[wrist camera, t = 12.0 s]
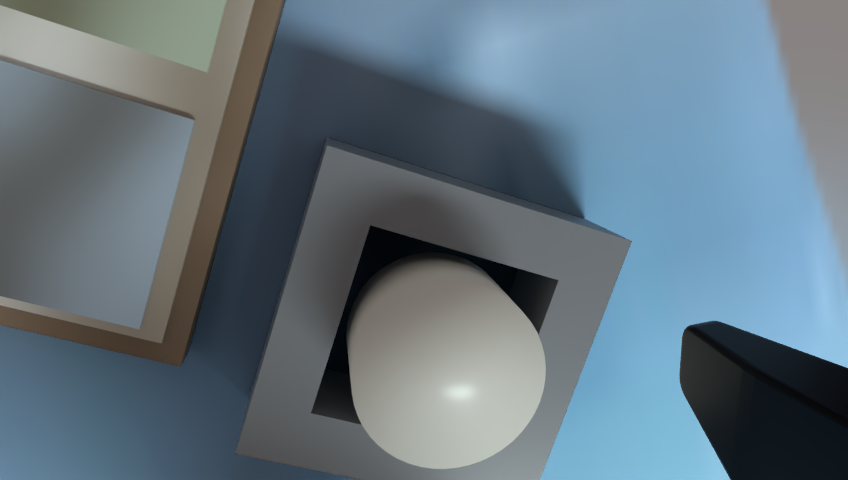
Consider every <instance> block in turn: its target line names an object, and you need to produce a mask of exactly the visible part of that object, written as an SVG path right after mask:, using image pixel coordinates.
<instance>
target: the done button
mask: <svg viewBox="0 0 848 480" xmlns="http://www.w3.org/2000/svg"><path fill="white" fill-rule="evenodd" d="M346 333H347V349H348V360H349V370H350V380H351V390H352V397H353V403H354V407H355V410H356V413H357V416H358V418H359V420H360V422H361V424H362V426H363V427H364V429H365V430H366V432H367V433H368V435H369V436H370V437H371V438H372V439H373V440H374V441H375V443H376V444H377V445H378V446H380V447H381V448H382V449H383V450H385V451H386V452H387V453H389V454H390V455H392V456H394V457H395V458H397V459H399V460H401V461H404V462H406V463H408V464H412V465H415V466H419V467H425V468H431V469H450V468H459V467H463V466H468V465H471V464H474V463H477V462H480V461H482V460H485V459H487V458H489V457H491V456H493V455H494V454H496V453H498V452H499V451H501V450H502V449H504V448H505V447H506V446H508V445H509V444H510V443H511V442H513V441H514V440H515V438H516V437H517V436H518V435H519V434H520V433H521V432H522V431H523V430H524V429H525V427H526V426H527V425H528V423H529V422H530V420H531V419H532V417H533V415H534V414H535V412H536V409H537V407H538V405H539V403H540V400H541V397H542V393H543V390H544V384H545V376H546V364H545V355H544V351H543V347H542V343H541V340H540V338H539V335H538V333H537V331H536V330H535V328H534V326H533V324H532V323H531V321H530V320H529V319H528V318H527V316H526V315H525V314H524V313H523V312H522V310H521V309H520V308H519V307H518V306H517V305H516V304H515V303H514V302H513V301H512V300H511V299H510V297H509V296H508V295H507V294H506V293H505V292H504V291H503V290H502V289H501V288H500V287H499V285H498V284H497V283H496V282H495V281H494V280H493V279H492V278H491V277H490V276H489V275H488V274H487V273H486V272H485V271H484V270H483V269H481V268H480V267H478V266H477V265H476V264H474V263H472V262H470V261H468V260H467V259H464V258H461V257H459V256H456V255H452V254H447V253H438V252H427V253H418V254H413V255H409V256H406V257H403V258H400V259H398V260H396V261H394V262H392V263H390V264H388V265H387V266H385V267H383V268H382V269H381V270H379V271H378V272H377V273H376V274H374V275H373V276H372V277H371V278H370V279H369V280H368V281H367V283H366V284H365V285H364V286H363V288H362V289H361V290H360V292H359V293H358V295H357V297H356V299H355V301H354V303H353V305H352V308H351V310H350V314H349V318H348V322H347V332H346Z"/></svg>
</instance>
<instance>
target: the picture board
mask: <svg viewBox="0 0 848 480" xmlns="http://www.w3.org/2000/svg"><path fill="white" fill-rule="evenodd" d="M284 4H285V0H0V325H4V326H8V327H12V328H17V329H21V330H25V331H30V332H34V333H38V334H43V335H47V336H51V337H55V338H60V339H64V340H68V341H73V342H77V343H81V344H86V345H90V346H94V347H99V348H103V349H107V350H112V351H116V352H120V353H125V354H129V355H133V356H138V357H142V358H146V359H150V360H155V361H159V362H163V363H168V364H172V365H176V366H181V365H182V363H183V361H184V359H185V357H186V355H187V353H188V351H189V347H190V343H191V340H192V336H193V332H194V329H195V325H196V322H197V318H198V314H199V311H200V307H201V304H202V300H203V296H204V293H205V289H206V285H207V282H208V278H209V275H210V271H211V267H212V264H213V260H214V257H215V253H216V249H217V246H218V242H219V239H220V235H221V231H222V228H223V224H224V220H225V217H226V213H227V210H228V206H229V202H230V199H231V195H232V192H233V188H234V184H235V181H236V177H237V174H238V170H239V166H240V163H241V159H242V155H243V152H244V148H245V145H246V141H247V137H248V134H249V130H250V127H251V123H252V119H253V116H254V112H255V109H256V105H257V101H258V98H259V94H260V90H261V87H262V83H263V80H264V76H265V72H266V69H267V65H268V62H269V58H270V54H271V51H272V47H273V43H274V40H275V36H276V33H277V29H278V25H279V22H280V18H281V15H282V11H283V7H284Z"/></svg>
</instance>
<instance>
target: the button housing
mask: <svg viewBox="0 0 848 480" xmlns="http://www.w3.org/2000/svg"><path fill="white" fill-rule="evenodd" d="M370 225H371V226H375V227H378V228H382V229H385V230H388V231H392V232H395V233H399V234H402V235H406V236H409V237H412V238H416V239H419V240H423V241H426V242H429V243H433V244H436V245H440V246H443V247H447V248H450V249H453V250H457V251H460V252H464V253H467V254H470V255H474V256H477V257H481V258H484V259H488V260H491V261H494V262H498V263H501V264H505V265H508V266H512V267H515V268H518V270H517V273H516V276H515V278H514V281H513V284H512V287H511V290H510V292H509V295H508V296H509V297H510V299H511V300H512V301H513V302H514V303H515V304H516V305H517V306H518V307H519V308H520V309H521V310H522V312H523V313H524V314H525V315H526V316H527V318H528V319H529V320H530V321H531V323H532V324H533V326H534V328H535V330H536V331H537V333H538V335H539V338H540V340H541V343H542V347H543V351H544V355H545V364H546V376H545V384H544V390H543V393H542V397H541V400H540V403H539V405H538V407H537V409H536V412H535V414H534V415H533V417H532V419H531V420H530V422H529V423H528V425H527V426H526V427H525V429H524V430H523V431H522V432H521V433H520V434H519V435H518V436H517V437H516V438H515V440H514V441H513V442H511V443H510V444H509V445H508V446H506V447H505V448H504V449H502V450H501V451H499V452H498V453H496V454H494V455H493V456H491V457H489V458H487V459H485V460H482V461H480V462H477V463H474V464H471V465H468V466H463V467H459V468H450V469H431V468H425V467H419V466H415V465H412V464H408V463H406V462H404V461H401V460H399V459H397V458H395V457H394V456H392V455H390V454H389V453H387V452H386V451H385V450H383V449H382V448H381V447H380V446H378V445H377V444H376V443H375V441H374V440H373V439H372V438H371V437H370V436H369V435H368V433H367V432H366V430H365V429H364V427H363V426H362V424H361V422H360V420H359V418H358V416H357V413H356V410H355V407H354V403H353V397H352V390H351V380H350V374H346V373H342V372H338V371H334V370H330V369H325V367H326V364H327V361H328V358H329V355H330V351H331V348H332V345H333V342H334V339H335V336H336V332H337V329H338V326H339V323H340V320H341V316H342V313H343V310H344V307H345V304H346V301H347V297H348V294H349V291H350V288H351V285H352V282H353V278H354V275H355V272H356V269H357V266H358V263H359V259H360V256H361V253H362V250H363V247H364V243H365V240H366V237H367V234H368V231H369V228H370ZM631 242H632V241H630V240H628V239H626V238H624V237H622V236H620V235H618V234H616V233H613V232H611V231H609V230H607V229H605V228H603V227H601V226H599V225H597V224H595V223H592V222H590V221H588V220H586V219H583V218H580V217H577V216H574V215H570V214H567V213H564V212H561V211H558V210H555V209H551V208H548V207H545V206H542V205H539V204H536V203H532V202H529V201H526V200H523V199H520V198H517V197H514V196H510V195H507V194H504V193H501V192H498V191H495V190H491V189H488V188H485V187H482V186H479V185H476V184H472V183H469V182H466V181H463V180H460V179H457V178H454V177H450V176H447V175H444V174H441V173H438V172H435V171H431V170H428V169H425V168H422V167H419V166H416V165H413V164H409V163H406V162H403V161H400V160H397V159H394V158H390V157H387V156H384V155H381V154H378V153H375V152H371V151H368V150H365V149H362V148H359V147H356V146H353V145H349V144H346V143H343V142H340V141H337V140H334V139H330V138H327V137H326V140H325V144H324V147H323V150H322V154H321V157H320V161H319V164H318V167H317V171H316V174H315V177H314V181H313V184H312V188H311V191H310V194H309V198H308V201H307V204H306V208H305V211H304V214H303V218H302V221H301V225H300V228H299V231H298V235H297V238H296V241H295V245H294V248H293V252H292V255H291V258H290V262H289V265H288V268H287V272H286V275H285V278H284V282H283V285H282V289H281V292H280V295H279V299H278V302H277V305H276V309H275V312H274V316H273V319H272V322H271V326H270V329H269V332H268V336H267V339H266V342H265V346H264V349H263V353H262V356H261V359H260V363H259V366H258V369H257V373H256V376H255V380H254V383H253V386H252V390H251V393H250V396H249V400H248V404H247V408H246V412H245V416H244V420H243V424H242V429H241V433H240V437H239V441H238V445H237V449H236V453H235V454H238V455H243V456H248V457H253V458H258V459H262V460H267V461H272V462H277V463H282V464H286V465H291V466H296V467H301V468H306V469H310V470H315V471H320V472H325V473H330V474H334V475H339V476H344V477H349V478H354V479H358V480H540V478H541V476H542V473H543V470H544V468H545V465H546V463H547V460H548V457H549V455H550V452H551V450H552V447H553V444H554V442H555V439H556V437H557V434H558V431H559V429H560V426H561V424H562V421H563V418H564V416H565V413H566V411H567V408H568V405H569V403H570V400H571V398H572V395H573V392H574V390H575V387H576V385H577V382H578V379H579V377H580V374H581V372H582V369H583V366H584V364H585V361H586V359H587V356H588V353H589V351H590V348H591V346H592V343H593V340H594V338H595V335H596V333H597V330H598V327H599V325H600V322H601V320H602V317H603V314H604V312H605V309H606V307H607V304H608V301H609V299H610V296H611V294H612V291H613V288H614V286H615V283H616V281H617V278H618V275H619V273H620V270H621V268H622V265H623V262H624V260H625V257H626V255H627V252H628V249H629V247H630V244H631Z"/></svg>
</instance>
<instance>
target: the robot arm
mask: <svg viewBox="0 0 848 480" xmlns="http://www.w3.org/2000/svg"><path fill="white" fill-rule="evenodd" d="M680 384H681V388H682V391H683V393H684V395H685V397H686V399H687V401H688V403H689V405H690V407H691V408H692V410H693V412H694V414H695V416H696V417H697V419H698V421H699V423H700V425H701V427H702V428H703V430H704V432H705V434H706V436H707V438H708V439H709V441H710V443H711V445H712V447H713V448H714V450H715V452H716V454H717V456H718V458H719V459H720V461H721V463H722V465H723V467H724V469H725V470H726V472H727V474H728V476H729V478H730V479H731V480H848V368H846V367H843V366H840V365H838V364H835V363H832V362H829V361H827V360H824V359H821V358H818V357H816V356H813V355H810V354H807V353H805V352H802V351H799V350H796V349H793V348H791V347H788V346H785V345H782V344H780V343H777V342H774V341H771V340H769V339H766V338H763V337H760V336H758V335H755V334H752V333H749V332H747V331H744V330H741V329H738V328H736V327H733V326H730V325H727V324H725V323H722V322H719V321H709V322H704V323H699V324H694V325H690V326H688V327H687V328H686V329H685V330H684V332H683V336H682V348H681V362H680Z"/></svg>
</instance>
